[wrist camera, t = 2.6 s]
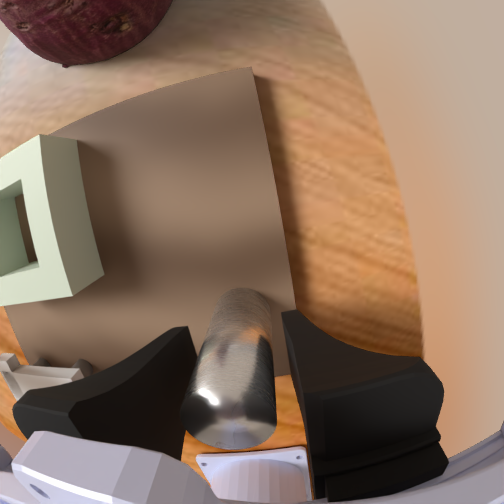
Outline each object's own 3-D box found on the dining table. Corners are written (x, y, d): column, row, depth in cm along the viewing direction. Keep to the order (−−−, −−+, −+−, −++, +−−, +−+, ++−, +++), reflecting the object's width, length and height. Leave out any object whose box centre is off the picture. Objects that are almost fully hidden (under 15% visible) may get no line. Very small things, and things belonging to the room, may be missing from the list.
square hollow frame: (104, 274, 13) (73, 296, 11) (22, 289, 14) (-8, 307, 11) (76, 139, 12) (39, 134, 9) (-2, 181, 12) (-36, 185, 9)
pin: (274, 332, 14) (282, 445, 7) (221, 340, 14) (196, 450, 7) (265, 283, 13) (268, 381, 6) (209, 292, 13) (166, 390, 7)
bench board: (303, 368, 15) (313, 417, 12) (47, 379, 17) (20, 408, 13) (252, 74, 12) (248, 36, 8) (-16, 180, 13) (-56, 185, 9)
